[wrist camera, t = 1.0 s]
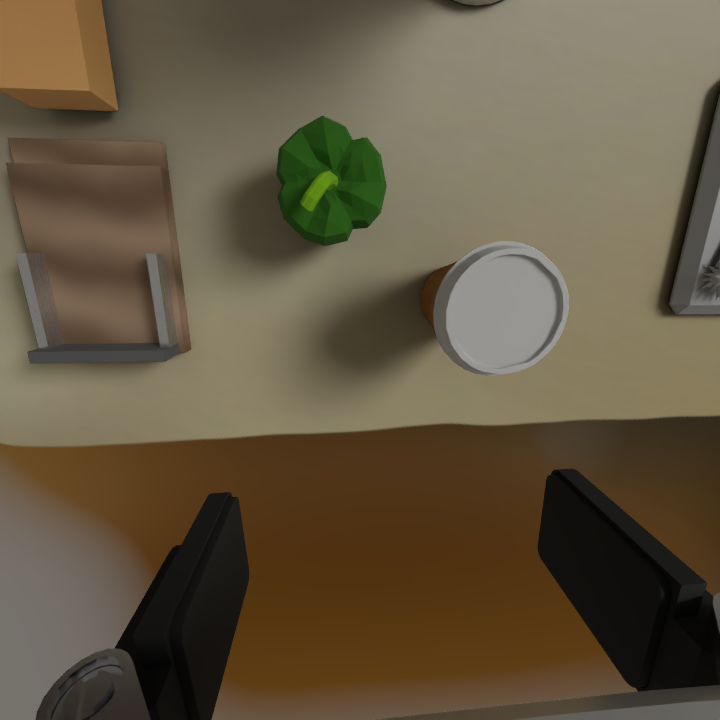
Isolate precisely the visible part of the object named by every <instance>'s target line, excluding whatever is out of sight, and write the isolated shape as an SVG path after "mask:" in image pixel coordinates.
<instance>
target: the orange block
mask: <svg viewBox="0 0 720 720" xmlns="http://www.w3.org/2000/svg"><path fill="white" fill-rule="evenodd" d="M0 91H1V92H3V93H5V94H7V95H9V96H11V97H13V98H15V99H17V100H19V101H21V102H23V103H25V104H27V105H28V106H30V107H32V108H40V109H50V110H58V109H70V110H100V111H104V112H109V111H118V105H117V104H118V94H117V91H116V89H115V86H114V79H113V73H112V66H111V60H110V53H109V47H108V41H107V34H106V28H105V21H104V15H103V8H102V2H101V0H0Z"/></svg>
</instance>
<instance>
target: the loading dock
mask: <svg viewBox="0 0 720 720" xmlns="http://www.w3.org/2000/svg"><path fill="white" fill-rule="evenodd" d="M8 141H9V145H10V149H11V154H12V158H13V162H14V163H6V165H7V169H8V173H9V177H10V182H11V186H12V190H13V194H14V198H15V203H16V207H17V211H18V215H19V220H20V224H21V228H22V232H23V236H24V241H25V245H26V249H27V253H16V257H17V262H18V266H19V270H20V274H21V278H22V282H23V286H24V290H25V294H26V298H27V302H28V306H29V310H30V314H31V318H32V322H33V326H34V331H35V335H36V339H37V343H38V347H39V349H36V350H32V351H29V352H27V353H28V357H29V360H30V363H95V362H164V361H167V360H168V359H170V358H172V357H173V356H175V355H177V354H179V353H186V352H187V351H189V350H191V344H190V336H189V328H188V320H187V313H186V305H185V297H184V289H183V281H182V273H181V266H180V258H179V250H178V242H177V234H176V226H175V219H174V211H173V203H172V195H171V187H170V179H169V172H168V164H167V156H166V148H165V145H164V144H163V143H161V142H139V141H103V140H66V139H30V138H8Z"/></svg>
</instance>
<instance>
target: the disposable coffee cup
mask: <svg viewBox="0 0 720 720" xmlns="http://www.w3.org/2000/svg"><path fill="white" fill-rule="evenodd" d="M420 302H421V308H422V311H423V313H424V315H425V317H426V318H427V319H428V321H429V322H430V324H431V325H432V327H433V328H434V329H435V333H436V336H437V339H438V341H439V343H440V346H441V347H442V349H443V350H444V352H445V353H446V354H447V355H448V356H449V357H450V359H451V360H452V361H453V362H455V363H456V364H457V365H459V366H460V367H462V368H463V369H465V370H468V371H470V372H473V373H476V374H482V375H501V374H508V373H514V372H517V371H520V370H524V369H526V368H528V367H530V366H532V365H534V364H535V363H536V362H538V361H539V360H541V359H542V358H543V357H544V356H545V355H546V354H547V353H548V352H549V351H550V350H551V349H552V348H553V347H554V345H555V344H556V342H557V341H558V339H559V338H560V336H561V334H562V332H563V329H564V327H565V325H566V320H567V316H568V312H569V296H568V290H567V287H566V283H565V280H564V278H563V277H562V275H561V273H560V271H559V270H558V269H557V267H556V266H555V265H554V264H553V263H552V262H551V261H550V260H549V259H548V258H547V257H546V256H545V255H544V254H543V253H541V252H540V251H538V250H537V249H535V248H533V247H531V246H529V245H526V244H523V243H519V242H512V241H500V242H495V243H490V244H486V245H484V246H481V247H478V248H476V249H474V250H473V251H471V252H469V253H468V254H466V255H464V256H463V257H462V258H461V259H460V260H459V261H458V262H455V263H453V264H450V265H448V266H445V267H443V268H440V269H438V270H437V271H435V272H434V273H432V274H431V275H430V276H429V277H428V279H427V280H426V282H425V283H424V286H423V288H422V291H421V300H420Z"/></svg>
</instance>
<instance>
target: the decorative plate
mask: <svg viewBox="0 0 720 720" xmlns="http://www.w3.org/2000/svg"><path fill="white" fill-rule="evenodd" d="M669 305H670V306H671V308H672V309H673V311H674V312H675V314H720V95H719V99H718V103H717V107H716V112H715V116H714V120H713V124H712V128H711V132H710V136H709V141H708V145H707V149H706V153H705V157H704V161H703V165H702V170H701V174H700V178H699V182H698V186H697V190H696V194H695V199H694V203H693V207H692V211H691V215H690V219H689V223H688V228H687V232H686V236H685V240H684V244H683V248H682V252H681V256H680V261H679V265H678V269H677V273H676V277H675V281H674V285H673V290H672V294H671V298H670V302H669Z"/></svg>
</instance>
